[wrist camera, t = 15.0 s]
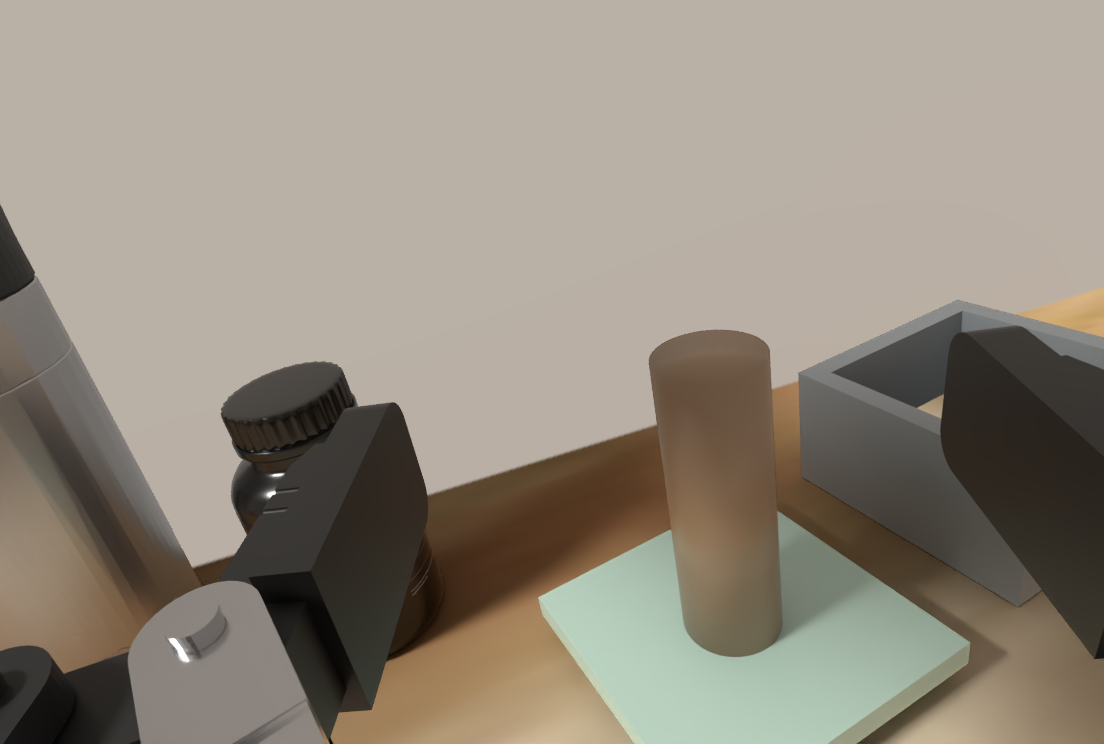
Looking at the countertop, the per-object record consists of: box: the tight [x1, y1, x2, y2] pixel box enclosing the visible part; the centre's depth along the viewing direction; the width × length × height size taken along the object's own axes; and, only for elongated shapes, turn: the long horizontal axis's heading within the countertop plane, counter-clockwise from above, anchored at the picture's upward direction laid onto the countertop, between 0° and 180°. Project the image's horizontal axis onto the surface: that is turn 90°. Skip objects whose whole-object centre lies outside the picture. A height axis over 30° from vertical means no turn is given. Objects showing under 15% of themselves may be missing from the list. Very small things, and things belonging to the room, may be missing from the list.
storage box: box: [799, 300, 1104, 607], centre depth 32 cm, size 11×11×6 cm
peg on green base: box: [538, 330, 971, 744], centre depth 24 cm, size 11×11×13 cm
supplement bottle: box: [221, 362, 444, 656], centre depth 30 cm, size 7×7×12 cm
